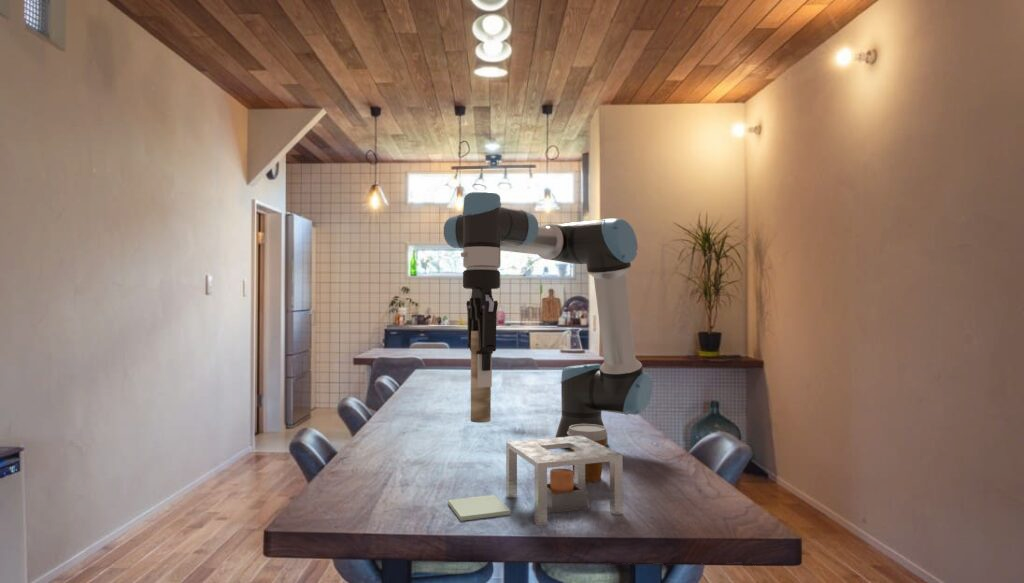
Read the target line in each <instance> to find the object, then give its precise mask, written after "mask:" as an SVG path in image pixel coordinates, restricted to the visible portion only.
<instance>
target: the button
mask: <svg viewBox="0 0 1024 583" xmlns="http://www.w3.org/2000/svg"><path fill="white" fill-rule="evenodd" d="M549 478H550V479H549V480H550V481H549V482H550V489H551V490H552V491H553V492H555V493H557V492H565V491H573V490H574V472H573V469H569V468H559V467H558V468H554V469H551V470H550V473H549Z"/></svg>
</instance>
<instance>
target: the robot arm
mask: <svg viewBox="0 0 1024 583" xmlns="http://www.w3.org/2000/svg"><path fill="white" fill-rule="evenodd" d="M443 238H444V241H445V242H446V244H447V245H448V246H450V247H451V248H454V249H463V251H462V252H460V257H462V258H463V259H462V260H463V261H462V264H463V265H462V266H463V268H465V269H464V270H463V272H462V287H463V289H466V290H471V294H470V295H471V296H470V297H469V300H467V301H466V310H467V316H466V317H467V348H469V350H470V352H471V331H478V334H479V351H476V354H478V383H477V387H491V388H492V386H493V385H492V384H493V379H492V377H493V374H492V373H493V367H492V365H493V360H492V359H493V358H492V357H493V356H492V354H493V353H494V352H496V351H497V315H498V314H497V313H498V305H499V302H498V300H494V297H493V294H492V293H493V292H492V290H493V289H494V290H498V289H499V288H500V287H501V272H500V270H498V269H499V268H501V252H510V253H521V254H529V255H538V256H539V257H540V258H541V259H544V260H548V261H549V260H550V261H555V262H560V263H561V262H562V263H566V264H567V263H568V264H571V265H572V264H573V265H586V270H587V274H589V275H591V276H592V278H593V283H594V290H595V297H596V306H597V314H598V323H599V329H600V338H601V339H600V340H601V345H602V353H603V363H602V364H601V363H589V364H587V363H586V364H579V365H578V364H576V365H570V366H566V367H564V368H563V369H562V371H561V380H560V384H561V395H560V396H561V402H560V403H561V417H560V421H559V423H558V427H557V429H556V432H555V438H557V437H568V434H567V432H568V430H569V427H570V426H571V425H576V424H595V425H600V426H604V427H605V425H604V422H603V418H602V412H607V413H608V412H609V413H614V414H615V413H616V414H622V415H626V416H629V415H631V416H632V415H634V416H636V415H641V414H643V413H644V412H645V411H646V410H647V408H648V407H649V404H650V402H651V399H652V397H653V396H652V395H653V386H654V385H653V384H654V383H653V378H652V376H651V375H650V374H649V373H647V372H644V371H643V364H642V363H641V361H640V360H638V359H637V358H636V350H635V341H634V334H633V326H632V325H633V324H632V323H633V322H632V314H631V308H630V299H629V288H628V280H627V273H628V271H629V270H630V269H631V268H632V267H631V266H632V265H631V264H632V262H633V261H634V260H635V259H636V257H637V255H638V253H637V251H638V239H637V236H636V233H635V230H634V228H633V227H632V225H630V223H629V222H628V221H627V220H625V219H623V218H602V219H596V220H595V219H593V220H587V221H586V220H585V221H575V222H573V221H572V222H567V223H559V224H552V223H547V224H544V225H542V226H541V225H539V221H538V220H537V218H536V216H535V215H534V214H533V213H531V212H529V211H526V210H523V209H516V208H509V207H504V206H502V203H501V196H500V195H499V194H498V193H496V192H492V191H473V192H469V193H467V194H465V196H464V198H463V208H462V213H461V214H459V215H455V216H451V217H449V218H448V219H446V221H445V223H444V224H443ZM607 446H608V436H607V437H606V440H605V447H607ZM568 449H570V448H568ZM570 450H571V449H570Z"/></svg>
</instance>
